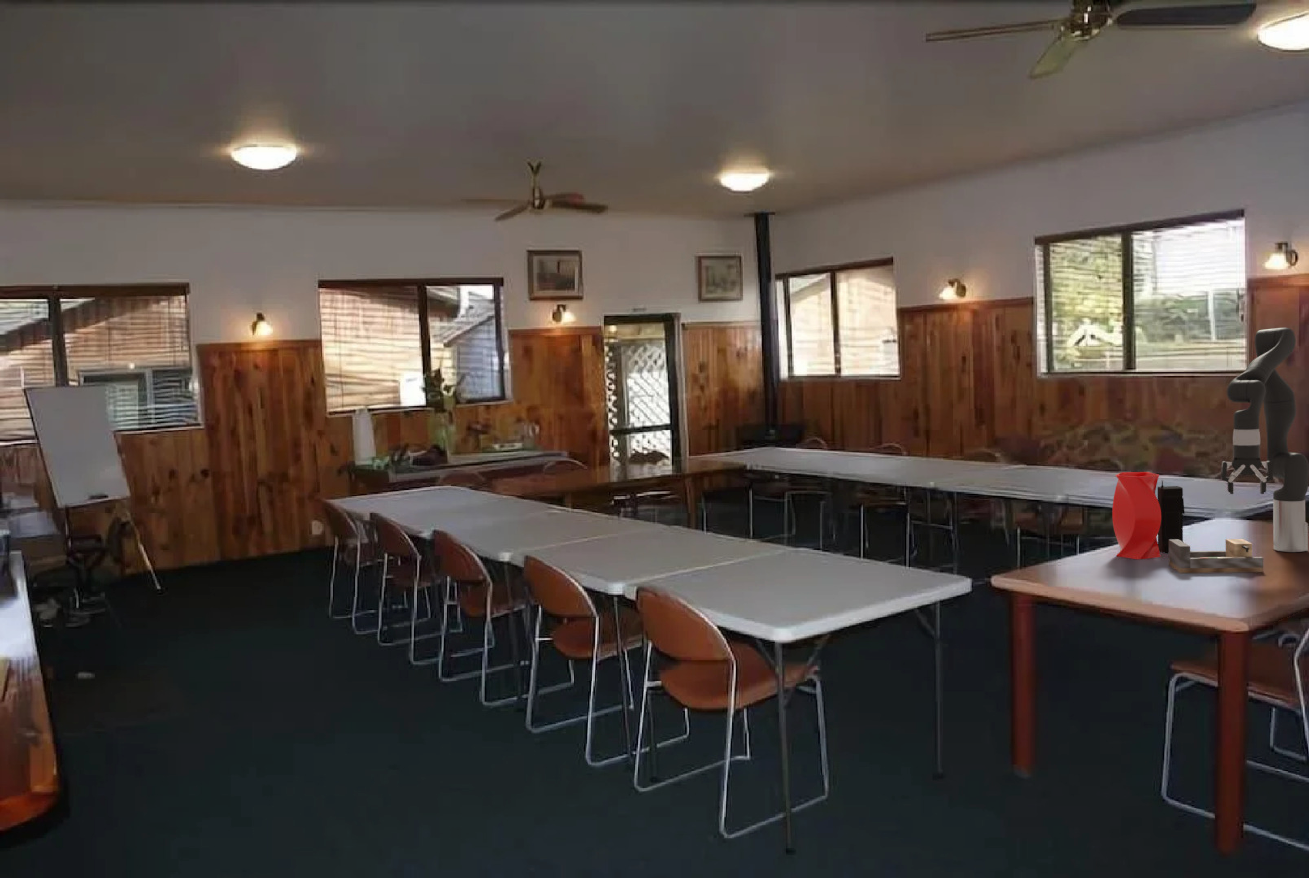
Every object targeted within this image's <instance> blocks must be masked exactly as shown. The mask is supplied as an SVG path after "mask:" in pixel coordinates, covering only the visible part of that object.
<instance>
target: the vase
mask: <svg viewBox="0 0 1309 878" xmlns="http://www.w3.org/2000/svg"><path fill="white" fill-rule="evenodd" d="M1159 476H1160V474H1157V473H1153V472H1151V471H1134V472H1133V471H1125V472H1124V471H1123V472H1122V471H1121V472H1119V473H1117V474H1115V477H1116V479H1117V482H1116V485H1115V489H1114V494H1113V501H1112V509H1111V510H1112V512H1111V514H1112V516H1111V517H1112V526H1113V531H1114V534H1115V537H1116V541H1117V543H1118V545H1119V548H1120V551H1119V552H1118V553H1117V554H1116V555H1115V557H1119V558H1127V559H1133V560H1146V559H1147V560H1149V559H1152V558H1153V559H1154V558H1155V559H1156V558H1161V557H1162V555H1161V552H1160V551H1159V547H1158V532H1159V529H1160V524H1161V509H1160V505H1159V502H1158V496H1157V495H1156V491H1157V485H1158V480H1159Z"/></svg>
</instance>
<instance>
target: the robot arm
mask: <svg viewBox="0 0 1309 878" xmlns="http://www.w3.org/2000/svg"><path fill="white" fill-rule="evenodd" d="M1296 343H1297V340H1296V334H1295V333H1294V330H1293V329H1291V328H1289V327H1276V328H1267V329H1260V330H1258V331H1257V332H1256V333H1255V336H1254V348H1255V354H1256V358H1254V359H1253V360H1252V361H1251V362H1250V363H1249V364H1248V366H1246V368H1245V370H1244V372H1242V373H1241V374H1239V375H1237V376H1236V377H1235V378H1233V379H1232V380H1231V381H1230V382H1229V384H1228V385H1227V388H1226V396H1227V398H1228V400H1229V401H1231V402H1232V403H1238V404H1239V403H1241V404H1242V403H1248V404H1249V403H1250V405H1249V407H1248V408H1245V409H1241V410H1236V411H1234V414H1233V432H1232V461H1224V460H1223V461H1222V462H1221V467H1220V468H1221V470H1220V479H1221V480H1222V481H1225V482H1227V492H1228V493H1229V495H1234V482H1233V481H1234V480H1235V479H1236V478H1237V477H1238V476H1239V475H1240V476H1247V475H1248V476H1254V475H1255V476H1256V477H1257V478H1258V479H1259V480H1260V482H1259V493H1260V494H1261V495H1264V494H1265V493H1266V492H1267V482H1270V481H1273V479H1274V478H1276V479H1279V480H1281V479H1282V480H1283V486H1282V487H1281V488H1279V489H1276V490H1274V491H1273V493H1272V496H1273V497H1272V498H1273V499H1272V500H1273V501H1272V502H1273V505H1272V506H1273V507H1272V508H1273V509H1272V511H1273V512H1272V513H1273V514H1272V515H1273V517H1272V519H1273V520H1272V521H1273V522H1272V523H1273V525H1272V528H1273V535H1272V536H1273V539H1272V541H1273V543H1272V544H1273V550H1275V551H1278V552H1286V553H1301V552H1308V551H1309V545H1308V544H1309V542H1308V541H1309V538H1308V537H1309V533H1308V532H1309V531H1308V529H1309V523H1308V522H1306V494H1307V492H1308V489H1309V461H1308V459H1307V457H1306V456H1305V455H1304V454H1303V453H1300V452H1299V453H1298V452H1289V448H1288V434H1289V431H1290V428H1291V427H1292V425H1293V423H1294V420H1295V418H1296V415H1297V406H1296V398H1295V397H1296V396H1295V392H1294V390H1293V389H1292V388H1291V386H1290V385H1289V384H1288V383H1287V382H1286V381H1285V379H1284V378H1283V377H1281V375H1280V374H1279V372H1278V371H1277V370H1276V369H1277V368H1278V366H1279V365H1281V364H1282V363H1283V362H1284V361H1285V360H1286V359H1287V358H1288V357H1289V356H1290V355H1291V354H1292V353H1293V352H1294V350H1295V347H1296ZM1262 406H1263V412H1264V418H1265V427H1266V428H1265V430H1266V461H1262V460H1261V434H1260V414H1261V410H1262V409H1261V408H1262ZM1262 466H1263V467H1264V469H1266V476H1264V475H1263V474H1262V473H1261V472H1260V471H1259V470H1260V469H1261V467H1262ZM1231 467H1232V468H1233V469H1234V470H1233V471H1232V472H1231V474H1230V475H1229V476H1227V471H1228V469H1229V468H1231Z"/></svg>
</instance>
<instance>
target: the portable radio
mask: <svg viewBox="0 0 1309 878" xmlns="http://www.w3.org/2000/svg"><path fill="white" fill-rule="evenodd" d="M1183 491H1184V490H1183V487H1181V486H1179V485H1171V486H1170V485H1169V486H1167V485H1166V486H1165V485H1164V480H1161V486H1157V499H1158V502H1159V505H1160V509H1161V524H1160V529H1159V532H1158V534H1157V542H1158V547H1159V552H1160V553H1163V554H1169V539H1179V540H1181V541H1182V542H1184V534H1183V533H1184V532H1183V531H1184V527H1183V525H1184V524H1183V520H1184V518H1183V517H1184V514H1186V513H1185V504H1184V497H1183V496H1184V493H1183Z"/></svg>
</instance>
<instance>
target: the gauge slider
mask: <svg viewBox="0 0 1309 878" xmlns="http://www.w3.org/2000/svg"><path fill="white" fill-rule="evenodd" d="M1225 551H1226V557H1253V543H1251V542H1250V541H1247V540H1246V539H1243V538H1234V539H1233V538H1229V539H1228V538H1226V539H1225Z"/></svg>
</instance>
